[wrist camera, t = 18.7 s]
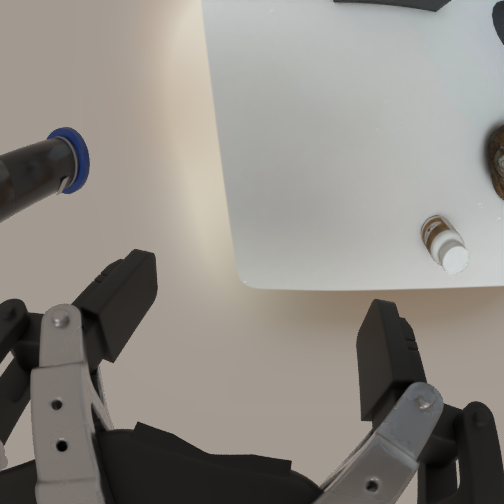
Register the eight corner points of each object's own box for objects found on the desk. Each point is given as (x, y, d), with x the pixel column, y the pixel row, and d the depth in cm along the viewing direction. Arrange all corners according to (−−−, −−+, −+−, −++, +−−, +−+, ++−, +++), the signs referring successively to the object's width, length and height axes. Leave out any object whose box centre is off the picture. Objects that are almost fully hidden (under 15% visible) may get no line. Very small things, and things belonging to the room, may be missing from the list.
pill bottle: (431, 209, 32) (453, 235, 25) (455, 224, 32) (479, 252, 25) (414, 237, 34) (430, 269, 27) (438, 252, 34) (457, 284, 27)
